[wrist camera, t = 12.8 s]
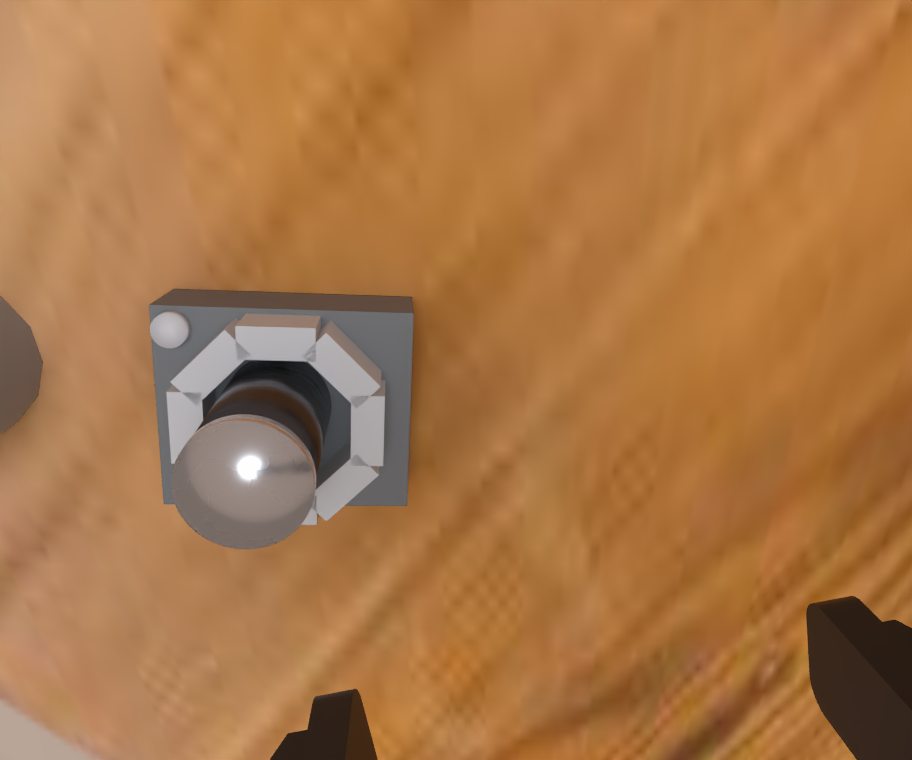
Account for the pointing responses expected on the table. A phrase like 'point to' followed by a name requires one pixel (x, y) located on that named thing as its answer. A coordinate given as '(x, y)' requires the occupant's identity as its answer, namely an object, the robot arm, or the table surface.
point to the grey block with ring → (295, 339)
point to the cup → (16, 366)
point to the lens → (255, 456)
